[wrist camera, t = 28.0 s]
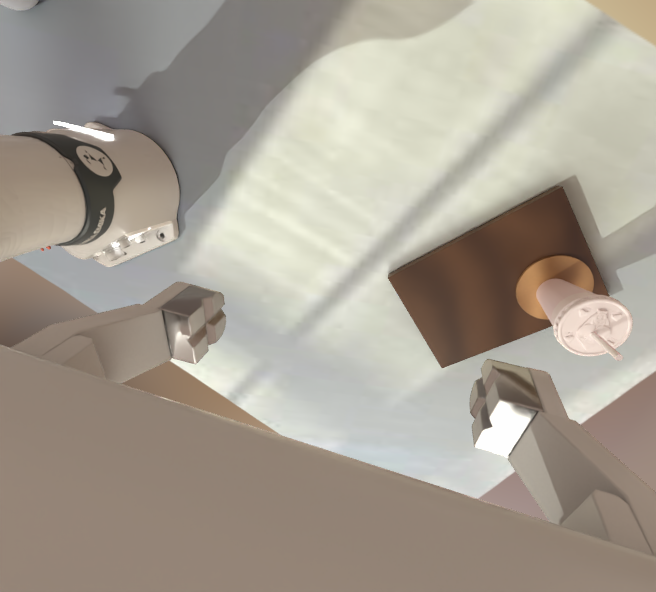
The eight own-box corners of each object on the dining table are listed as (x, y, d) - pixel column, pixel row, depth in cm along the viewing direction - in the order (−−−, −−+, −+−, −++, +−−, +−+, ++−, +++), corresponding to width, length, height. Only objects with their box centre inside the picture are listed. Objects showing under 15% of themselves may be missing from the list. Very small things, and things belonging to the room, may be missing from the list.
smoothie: (517, 312, 43) (567, 376, 30) (532, 264, 40) (594, 313, 27) (572, 319, 42) (648, 389, 29) (591, 270, 39) (683, 324, 26)
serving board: (440, 362, 50) (442, 370, 48) (388, 274, 46) (387, 278, 44) (605, 298, 42) (614, 304, 40) (556, 185, 38) (564, 186, 37)
